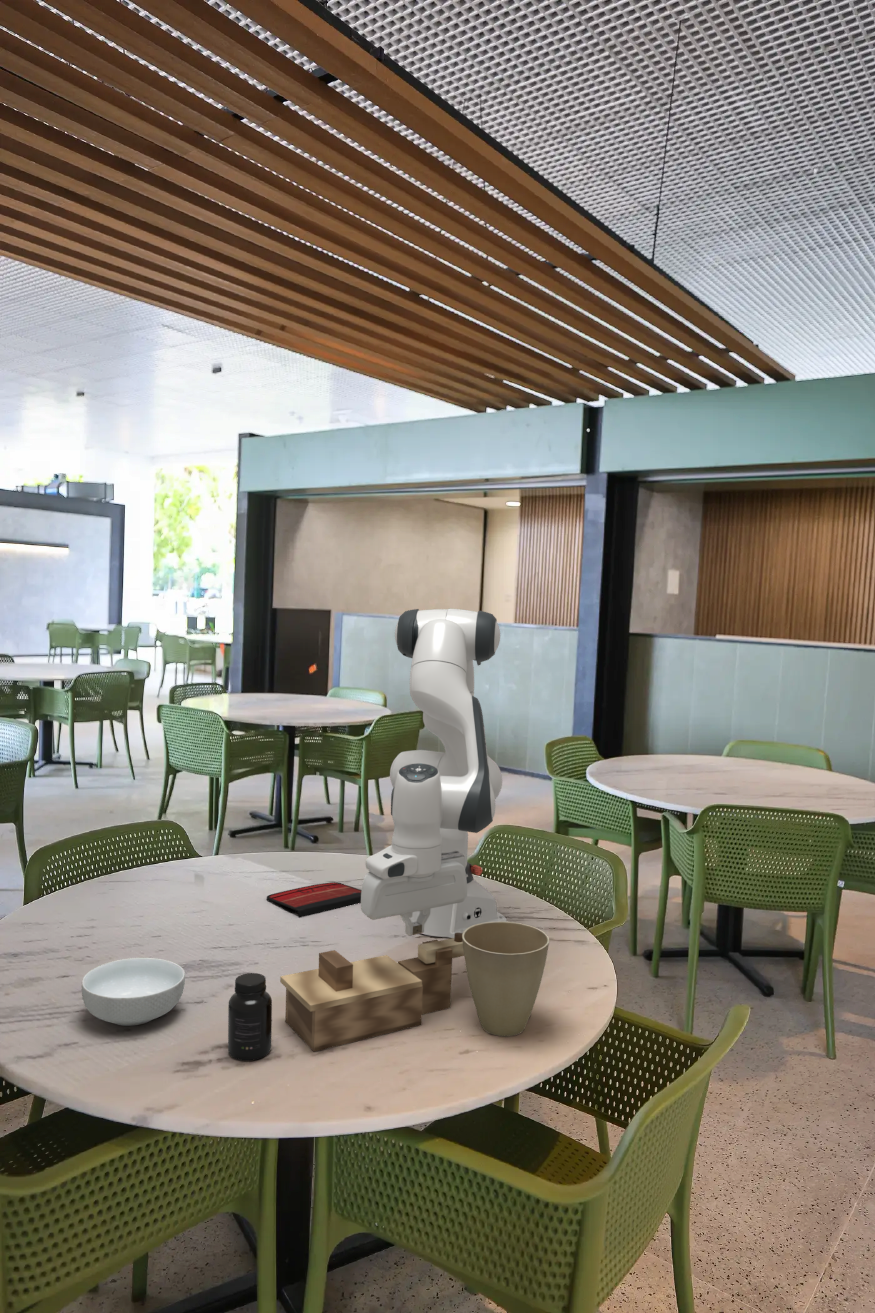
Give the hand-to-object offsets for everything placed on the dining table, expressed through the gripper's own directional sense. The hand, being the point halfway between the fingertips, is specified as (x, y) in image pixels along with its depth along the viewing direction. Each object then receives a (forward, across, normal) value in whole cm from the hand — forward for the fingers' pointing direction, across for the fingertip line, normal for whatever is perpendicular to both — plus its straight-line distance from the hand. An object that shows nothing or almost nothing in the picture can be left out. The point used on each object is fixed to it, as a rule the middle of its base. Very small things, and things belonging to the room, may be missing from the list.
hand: (414, 933), depth 165 cm
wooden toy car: (+5, -6, 0) cm, 8 cm away
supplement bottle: (+13, +31, +2) cm, 34 cm away
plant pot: (+14, -10, +14) cm, 22 cm away
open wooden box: (+13, +8, +1) cm, 16 cm away
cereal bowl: (+13, +44, -20) cm, 50 cm away
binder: (+16, -9, -60) cm, 63 cm away
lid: (+7, +13, +1) cm, 15 cm away
